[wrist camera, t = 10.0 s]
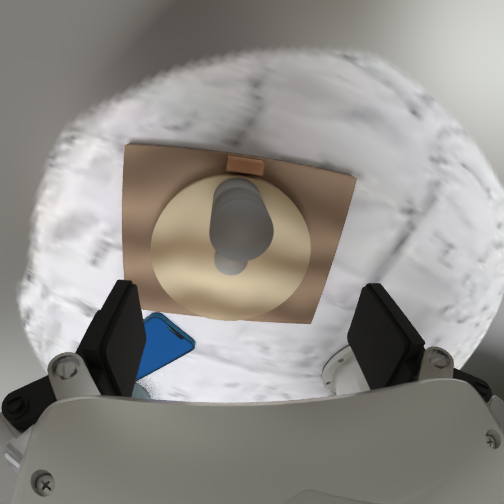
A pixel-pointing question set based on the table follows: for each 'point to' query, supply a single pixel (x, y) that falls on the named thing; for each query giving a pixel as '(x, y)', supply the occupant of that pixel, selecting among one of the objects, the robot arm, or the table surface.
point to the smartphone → (162, 344)
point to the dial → (230, 247)
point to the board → (217, 162)
